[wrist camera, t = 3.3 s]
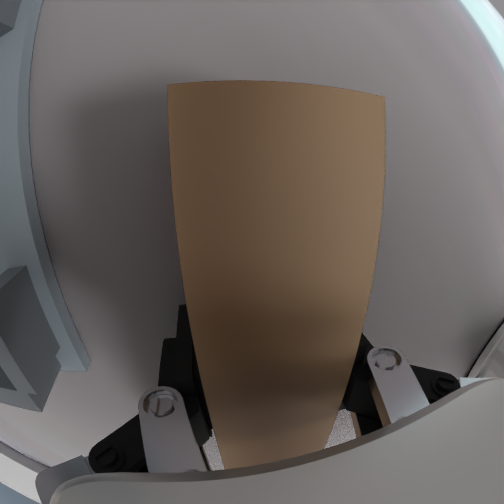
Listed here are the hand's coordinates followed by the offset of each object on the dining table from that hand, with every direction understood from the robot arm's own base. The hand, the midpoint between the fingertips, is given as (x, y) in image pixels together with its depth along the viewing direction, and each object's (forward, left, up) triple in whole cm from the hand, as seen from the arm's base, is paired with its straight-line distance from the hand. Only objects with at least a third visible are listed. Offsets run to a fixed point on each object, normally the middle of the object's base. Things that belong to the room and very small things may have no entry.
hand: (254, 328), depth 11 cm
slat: (0, 0, -1) cm, 1 cm away
